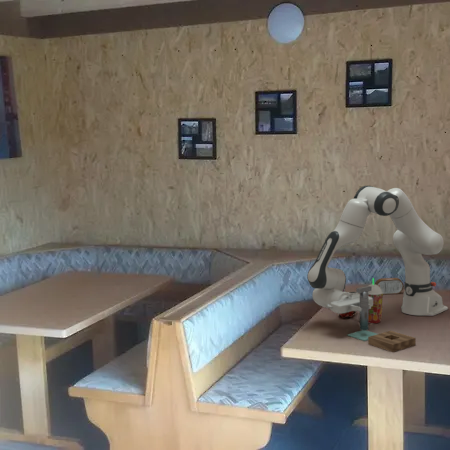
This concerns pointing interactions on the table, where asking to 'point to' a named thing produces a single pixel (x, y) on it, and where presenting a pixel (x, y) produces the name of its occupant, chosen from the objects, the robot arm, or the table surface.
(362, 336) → the teal rubber mat
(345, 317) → the dragon fruit
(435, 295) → the robot arm
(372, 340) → the walnut key-slot block
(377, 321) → the smoothie
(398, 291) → the digital desk clock
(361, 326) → the gunmetal T-key
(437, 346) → the table surface
